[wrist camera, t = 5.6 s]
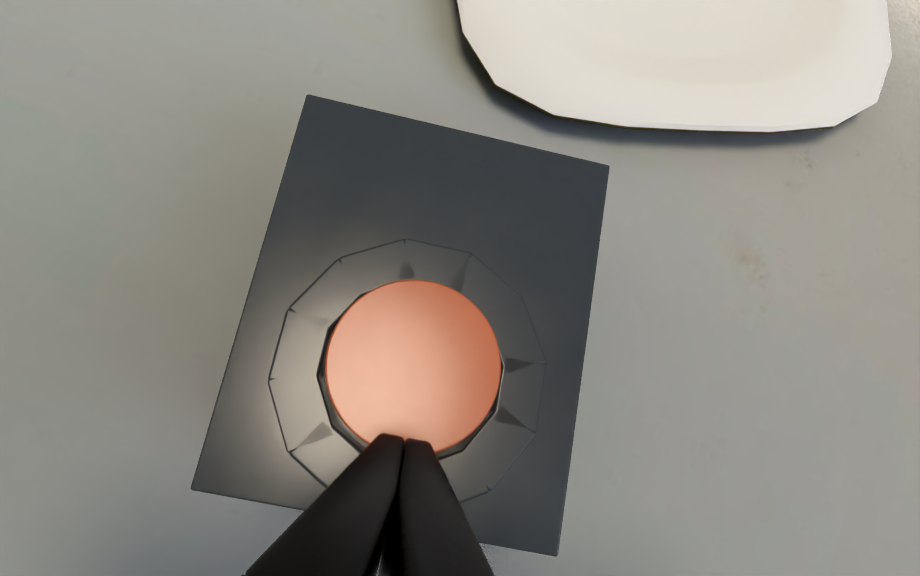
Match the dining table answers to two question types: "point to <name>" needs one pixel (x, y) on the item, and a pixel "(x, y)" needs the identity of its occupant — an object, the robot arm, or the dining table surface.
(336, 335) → the button
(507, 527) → the control block
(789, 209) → the dining table surface
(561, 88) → the plate
